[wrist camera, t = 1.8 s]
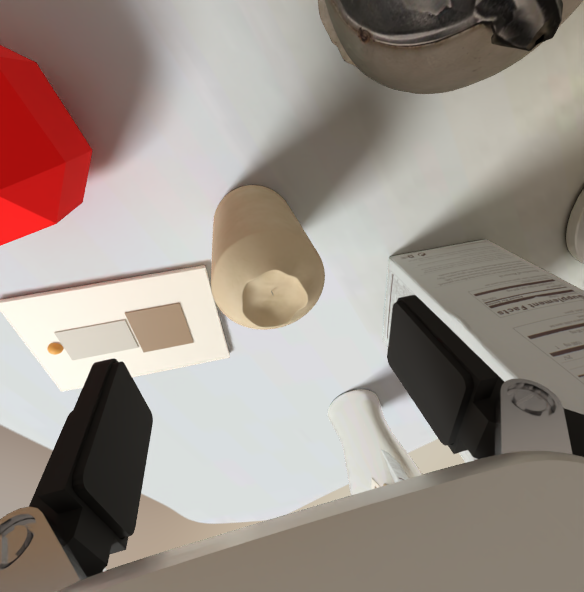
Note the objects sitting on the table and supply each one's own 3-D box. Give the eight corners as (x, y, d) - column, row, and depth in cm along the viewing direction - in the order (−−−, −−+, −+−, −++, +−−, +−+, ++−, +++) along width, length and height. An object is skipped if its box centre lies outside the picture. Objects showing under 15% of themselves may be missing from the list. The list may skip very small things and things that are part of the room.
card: (204, 264, 23) (204, 271, 22) (229, 353, 28) (229, 361, 27) (-1, 299, 22) (-10, 307, 21) (63, 387, 27) (58, 396, 26)
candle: (215, 178, 20) (213, 237, 12) (297, 189, 22) (347, 249, 13) (211, 256, 23) (208, 348, 15) (285, 261, 24) (319, 348, 16)
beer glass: (385, 412, 38) (467, 567, 26) (331, 433, 38) (386, 597, 26) (376, 377, 34) (466, 540, 22) (316, 400, 34) (371, 576, 22)
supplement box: (465, 322, 32) (655, 498, 18) (380, 341, 31) (510, 541, 17) (489, 234, 27) (782, 388, 13) (386, 253, 26) (584, 442, 12)
